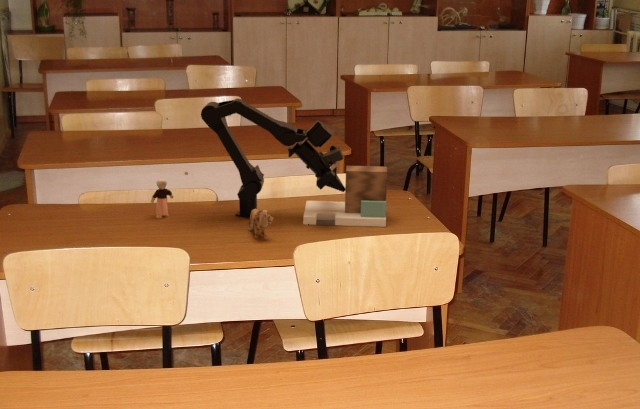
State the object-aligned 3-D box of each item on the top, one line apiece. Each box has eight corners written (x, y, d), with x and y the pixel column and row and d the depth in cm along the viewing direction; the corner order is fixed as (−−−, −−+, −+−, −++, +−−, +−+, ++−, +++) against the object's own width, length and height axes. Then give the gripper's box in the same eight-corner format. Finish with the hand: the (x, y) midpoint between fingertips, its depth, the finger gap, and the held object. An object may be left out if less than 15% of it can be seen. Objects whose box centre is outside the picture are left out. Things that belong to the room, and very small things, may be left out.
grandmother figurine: (157, 220, 250) (155, 182, 246) (150, 217, 252) (148, 179, 248) (176, 214, 255) (175, 177, 251) (169, 211, 258) (167, 174, 254)
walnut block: (344, 212, 251) (345, 170, 247) (345, 206, 257) (346, 165, 253) (385, 214, 251) (387, 172, 246) (385, 207, 256) (386, 166, 252)
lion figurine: (275, 239, 236) (275, 211, 233) (258, 242, 233) (258, 213, 230) (256, 224, 248) (256, 197, 245) (241, 226, 246) (240, 199, 243)
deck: (303, 224, 248) (303, 201, 246) (306, 207, 263) (306, 186, 261) (385, 226, 247) (386, 204, 245) (384, 209, 262) (385, 188, 260)
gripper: (327, 147, 238) (363, 183, 241) (330, 132, 256) (362, 166, 259) (301, 171, 241) (336, 206, 244) (305, 155, 259) (338, 188, 262)
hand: (344, 190), depth 252 cm, fingers closed, pressing on walnut block
